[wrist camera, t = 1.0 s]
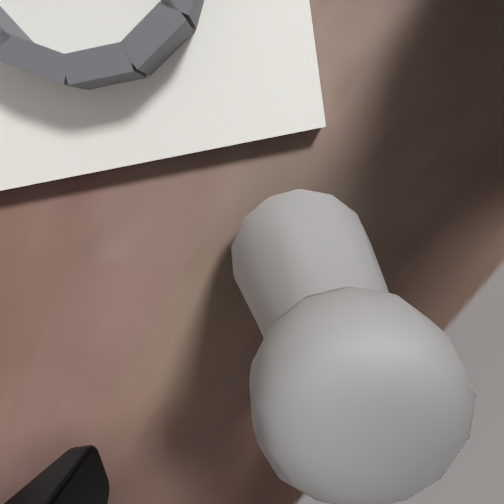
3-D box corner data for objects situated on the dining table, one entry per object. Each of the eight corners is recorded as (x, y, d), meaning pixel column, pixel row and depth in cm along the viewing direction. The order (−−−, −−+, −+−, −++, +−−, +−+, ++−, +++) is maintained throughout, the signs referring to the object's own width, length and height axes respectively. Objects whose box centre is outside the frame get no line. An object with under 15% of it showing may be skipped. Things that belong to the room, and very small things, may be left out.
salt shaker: (322, 316, 21) (429, 600, 8) (215, 274, 20) (159, 514, 8) (377, 210, 19) (611, 364, 7) (264, 160, 19) (292, 230, 6)
